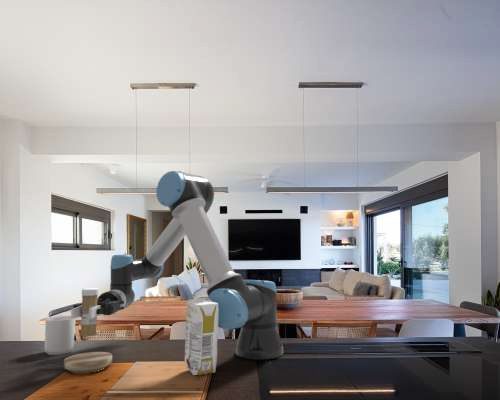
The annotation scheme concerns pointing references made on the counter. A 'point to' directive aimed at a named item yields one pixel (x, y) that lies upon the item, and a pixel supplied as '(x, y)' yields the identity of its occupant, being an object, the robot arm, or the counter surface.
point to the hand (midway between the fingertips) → (81, 313)
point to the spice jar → (88, 302)
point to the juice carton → (201, 336)
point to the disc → (87, 362)
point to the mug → (59, 335)
